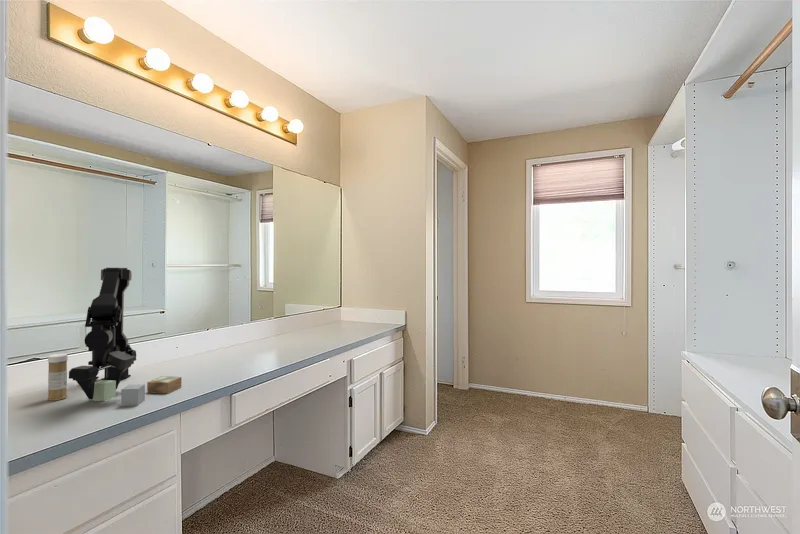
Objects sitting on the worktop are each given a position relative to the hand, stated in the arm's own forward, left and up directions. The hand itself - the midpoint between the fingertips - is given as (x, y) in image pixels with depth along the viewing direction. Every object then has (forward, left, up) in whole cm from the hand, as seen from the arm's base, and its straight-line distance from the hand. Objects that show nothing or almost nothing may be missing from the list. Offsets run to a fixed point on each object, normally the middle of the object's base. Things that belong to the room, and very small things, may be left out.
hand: (103, 394), depth 125 cm
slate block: (+12, -3, -1) cm, 12 cm away
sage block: (0, 0, -1) cm, 1 cm away
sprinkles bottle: (-13, -2, -1) cm, 13 cm away
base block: (+13, +10, -1) cm, 16 cm away
